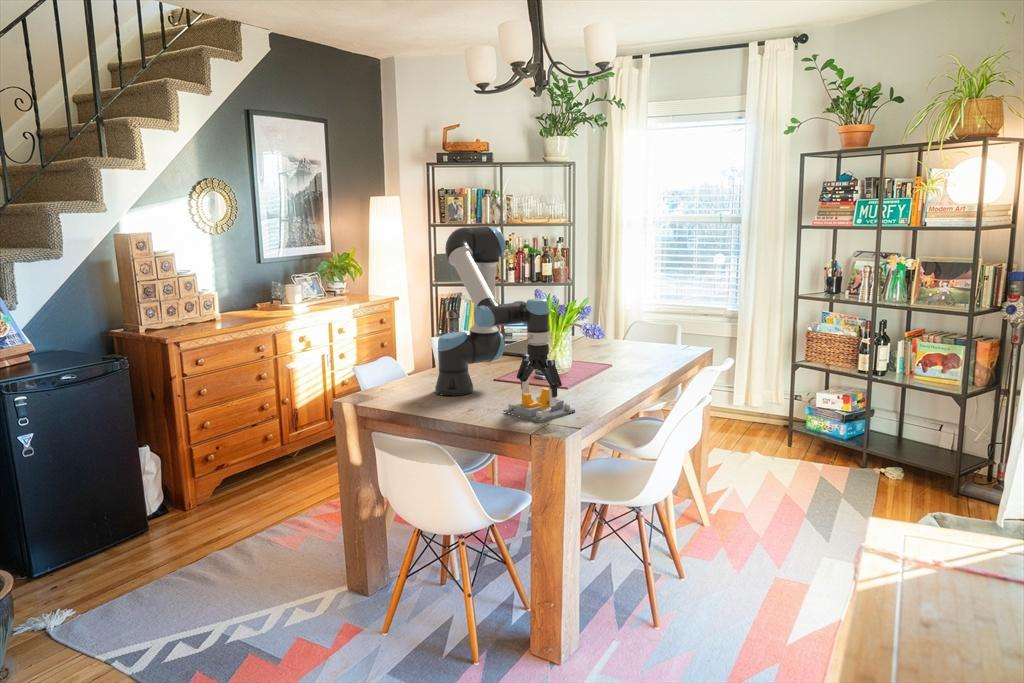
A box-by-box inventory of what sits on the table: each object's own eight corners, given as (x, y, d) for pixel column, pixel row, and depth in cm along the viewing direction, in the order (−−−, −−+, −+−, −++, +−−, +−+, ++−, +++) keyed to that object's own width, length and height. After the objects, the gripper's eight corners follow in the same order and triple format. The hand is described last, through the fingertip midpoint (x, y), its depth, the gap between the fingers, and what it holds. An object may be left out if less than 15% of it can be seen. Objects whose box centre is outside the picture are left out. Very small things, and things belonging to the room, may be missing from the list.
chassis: (503, 412, 258) (503, 403, 257) (539, 403, 270) (539, 393, 269) (539, 423, 245) (538, 413, 244) (575, 412, 257) (575, 402, 256)
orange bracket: (530, 414, 252) (530, 396, 250) (522, 411, 255) (521, 394, 254) (554, 407, 260) (554, 389, 259) (545, 405, 263) (545, 387, 262)
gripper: (506, 340, 259) (507, 398, 263) (556, 349, 241) (557, 411, 245) (521, 337, 264) (522, 394, 268) (571, 346, 246) (572, 406, 250)
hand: (539, 402), depth 257 cm, fingers open, 13 cm apart
